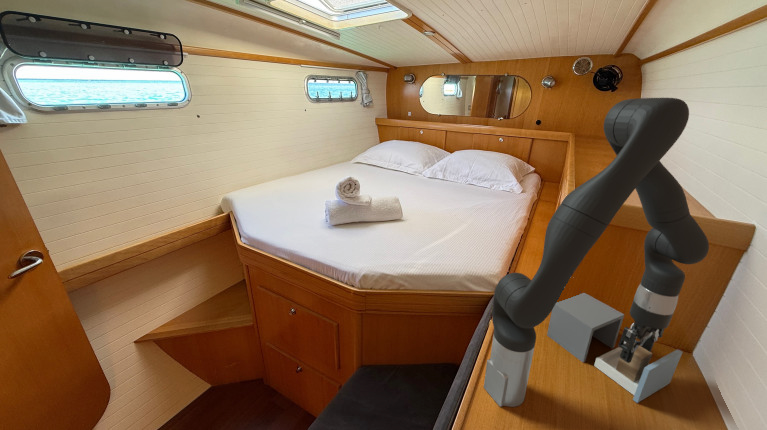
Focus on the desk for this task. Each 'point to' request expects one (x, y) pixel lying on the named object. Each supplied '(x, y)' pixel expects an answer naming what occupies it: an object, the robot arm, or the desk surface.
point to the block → (635, 364)
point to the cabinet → (583, 324)
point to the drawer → (651, 377)
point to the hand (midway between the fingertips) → (635, 355)
